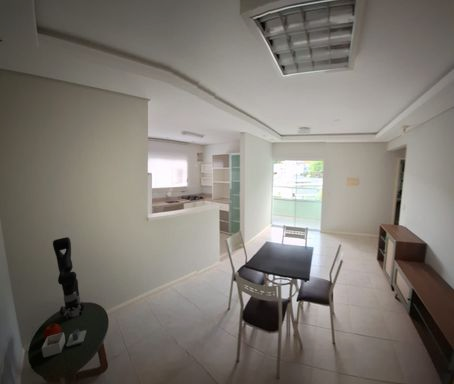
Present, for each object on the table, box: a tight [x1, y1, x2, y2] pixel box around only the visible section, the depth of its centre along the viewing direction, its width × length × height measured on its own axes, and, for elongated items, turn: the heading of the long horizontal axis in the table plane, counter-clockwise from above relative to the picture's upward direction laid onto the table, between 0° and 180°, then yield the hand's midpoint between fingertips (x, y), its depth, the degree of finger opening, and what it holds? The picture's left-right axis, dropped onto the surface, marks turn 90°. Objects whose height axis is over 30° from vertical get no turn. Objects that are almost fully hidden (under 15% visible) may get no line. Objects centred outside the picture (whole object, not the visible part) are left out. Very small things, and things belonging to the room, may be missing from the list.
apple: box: [42, 323, 62, 341], centre depth 162 cm, size 11×11×11 cm
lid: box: [65, 328, 87, 347], centre depth 160 cm, size 11×11×7 cm
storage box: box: [41, 332, 66, 358], centre depth 152 cm, size 10×10×8 cm
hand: (73, 317), depth 157 cm, fingers open, 8 cm apart
